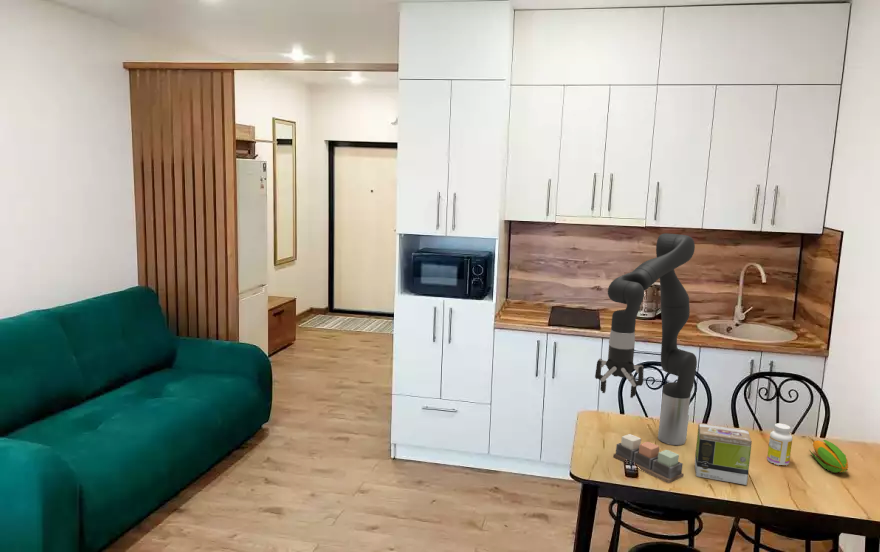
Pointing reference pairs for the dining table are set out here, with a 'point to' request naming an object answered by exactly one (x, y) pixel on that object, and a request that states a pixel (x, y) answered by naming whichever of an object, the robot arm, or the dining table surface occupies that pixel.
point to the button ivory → (631, 441)
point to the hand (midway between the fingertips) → (617, 394)
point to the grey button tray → (649, 464)
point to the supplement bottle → (780, 445)
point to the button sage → (668, 458)
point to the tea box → (723, 453)
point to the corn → (830, 456)
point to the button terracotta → (649, 449)
